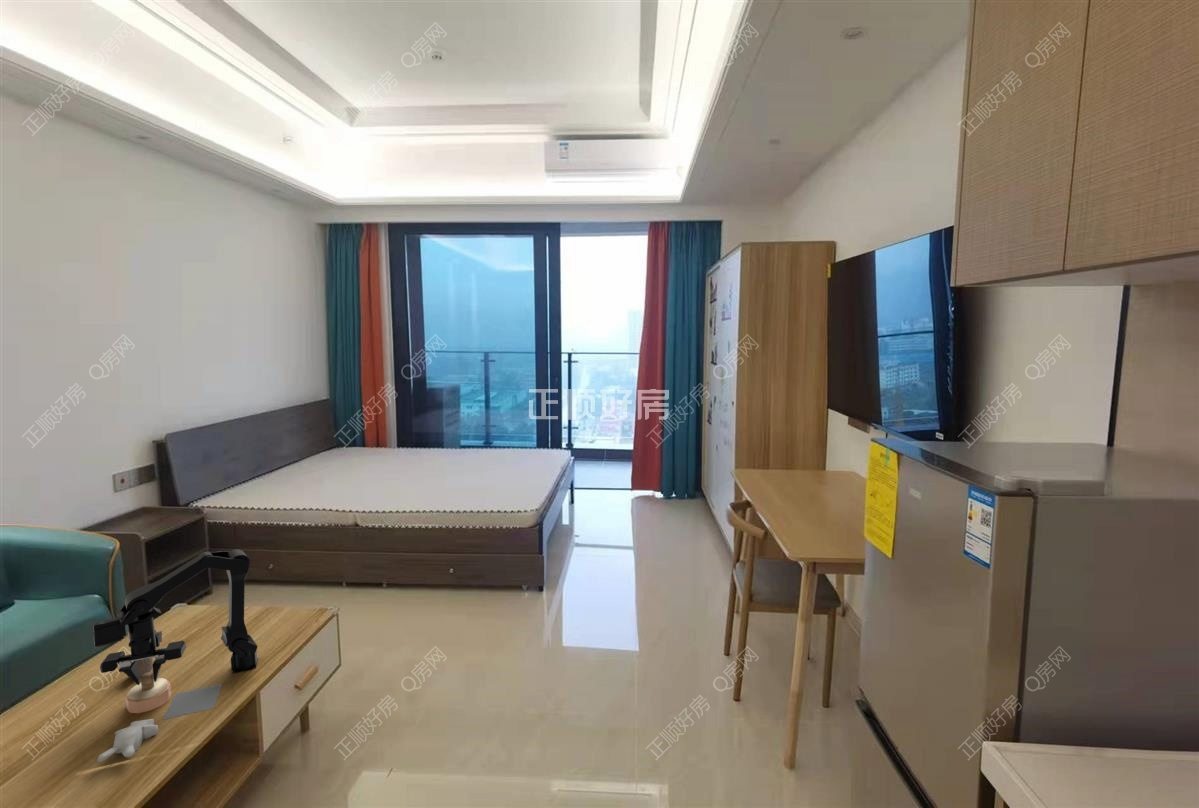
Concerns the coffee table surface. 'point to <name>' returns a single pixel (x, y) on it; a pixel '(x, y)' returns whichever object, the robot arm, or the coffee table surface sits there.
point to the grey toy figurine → (131, 738)
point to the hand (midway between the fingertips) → (147, 682)
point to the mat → (193, 701)
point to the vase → (144, 666)
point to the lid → (147, 688)
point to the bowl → (148, 701)
